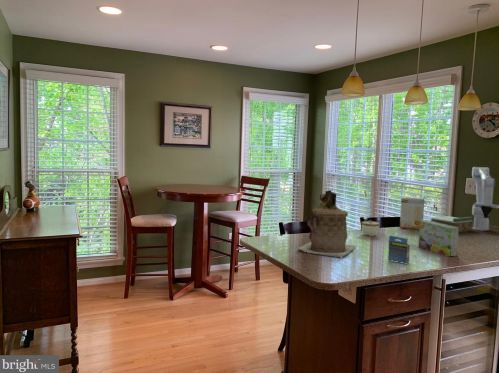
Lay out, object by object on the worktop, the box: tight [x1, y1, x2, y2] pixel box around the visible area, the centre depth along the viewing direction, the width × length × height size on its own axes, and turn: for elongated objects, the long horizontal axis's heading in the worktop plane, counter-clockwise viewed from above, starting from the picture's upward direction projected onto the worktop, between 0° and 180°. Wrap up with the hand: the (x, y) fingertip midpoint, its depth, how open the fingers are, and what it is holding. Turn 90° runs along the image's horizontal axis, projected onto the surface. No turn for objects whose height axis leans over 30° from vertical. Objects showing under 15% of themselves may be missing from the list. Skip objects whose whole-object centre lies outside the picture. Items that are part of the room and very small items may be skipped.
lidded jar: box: [360, 219, 380, 237], centre depth 245 cm, size 11×11×9 cm
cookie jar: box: [296, 190, 356, 258], centre depth 204 cm, size 25×25×32 cm
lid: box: [430, 215, 474, 223], centre depth 269 cm, size 18×18×3 cm
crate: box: [430, 219, 473, 233], centre depth 270 cm, size 18×18×6 cm
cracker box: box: [399, 196, 425, 231], centre depth 269 cm, size 14×6×21 cm, turn 58°
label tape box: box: [387, 235, 411, 264], centre depth 186 cm, size 9×4×12 cm, turn 48°
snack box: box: [418, 219, 459, 257], centre depth 207 cm, size 21×6×15 cm, turn 21°
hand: (486, 217), depth 256 cm, fingers closed
